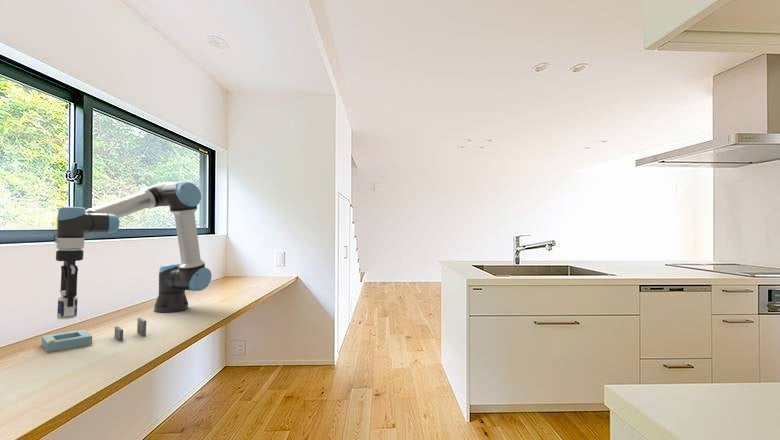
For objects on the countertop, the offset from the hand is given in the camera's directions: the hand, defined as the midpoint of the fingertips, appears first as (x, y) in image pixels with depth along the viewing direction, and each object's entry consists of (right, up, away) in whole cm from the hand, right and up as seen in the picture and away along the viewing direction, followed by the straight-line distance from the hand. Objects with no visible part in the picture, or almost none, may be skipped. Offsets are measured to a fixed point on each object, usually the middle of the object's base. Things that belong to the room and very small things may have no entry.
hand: (67, 314), depth 134 cm
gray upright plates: (+15, -11, +11) cm, 22 cm away
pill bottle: (0, -2, 0) cm, 2 cm away
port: (0, -11, 0) cm, 11 cm away
